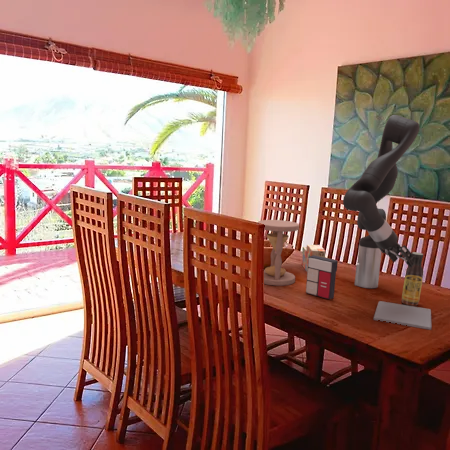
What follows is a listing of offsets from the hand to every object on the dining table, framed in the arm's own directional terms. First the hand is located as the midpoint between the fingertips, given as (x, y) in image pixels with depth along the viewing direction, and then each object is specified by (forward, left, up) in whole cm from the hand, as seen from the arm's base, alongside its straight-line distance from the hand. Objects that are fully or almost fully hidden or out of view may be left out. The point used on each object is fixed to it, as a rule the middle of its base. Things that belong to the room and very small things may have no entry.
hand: (403, 262), depth 171 cm
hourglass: (-51, +8, -17) cm, 54 cm away
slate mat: (+2, -11, -16) cm, 20 cm away
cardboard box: (-40, +33, -17) cm, 55 cm away
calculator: (-29, -4, -17) cm, 34 cm away
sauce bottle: (+4, +4, -17) cm, 17 cm away
